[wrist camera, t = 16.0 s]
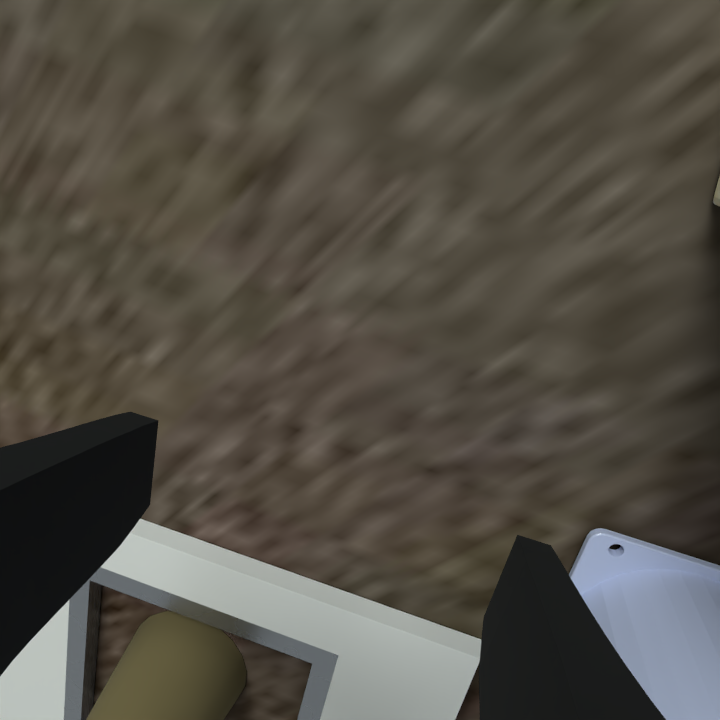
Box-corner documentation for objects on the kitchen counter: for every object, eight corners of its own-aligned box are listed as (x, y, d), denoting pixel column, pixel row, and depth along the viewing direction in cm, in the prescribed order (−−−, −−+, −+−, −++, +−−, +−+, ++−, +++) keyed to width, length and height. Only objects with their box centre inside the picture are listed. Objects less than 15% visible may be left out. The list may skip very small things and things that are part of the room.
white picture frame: (481, 639, 24) (480, 658, 23) (380, 884, 30) (377, 907, 29) (-16, 463, 27) (-34, 474, 26) (-10, 720, 33) (-24, 736, 32)
